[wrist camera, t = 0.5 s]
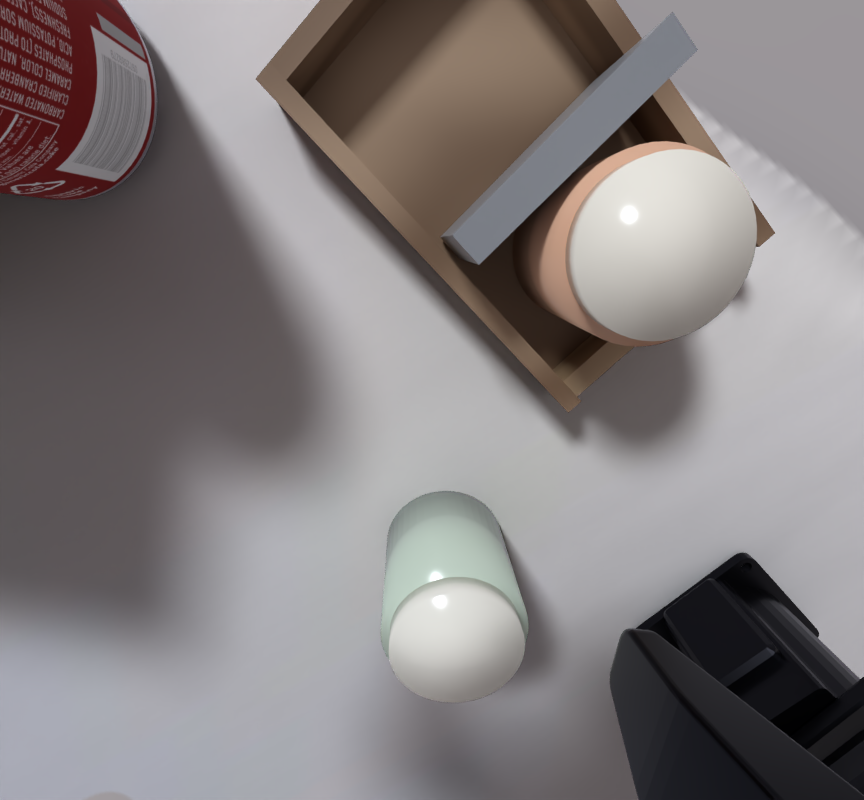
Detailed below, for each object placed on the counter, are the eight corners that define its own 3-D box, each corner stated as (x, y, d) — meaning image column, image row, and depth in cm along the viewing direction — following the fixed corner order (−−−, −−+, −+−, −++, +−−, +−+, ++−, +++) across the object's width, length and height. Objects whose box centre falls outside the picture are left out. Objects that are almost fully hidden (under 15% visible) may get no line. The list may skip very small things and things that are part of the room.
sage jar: (524, 541, 22) (565, 648, 16) (442, 608, 23) (453, 732, 17) (446, 468, 20) (460, 556, 15) (363, 542, 21) (346, 653, 16)
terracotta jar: (678, 249, 18) (808, 253, 12) (571, 345, 19) (644, 391, 13) (593, 137, 16) (692, 81, 11) (483, 246, 17) (520, 248, 12)
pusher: (611, 107, 16) (697, 49, 11) (459, 258, 17) (478, 264, 12) (592, 81, 16) (672, 11, 11) (440, 237, 17) (451, 235, 12)
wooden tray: (728, 234, 18) (775, 232, 16) (549, 392, 19) (568, 412, 17) (470, -127, 14) (481, -195, 12) (277, 102, 16) (255, 79, 14)
